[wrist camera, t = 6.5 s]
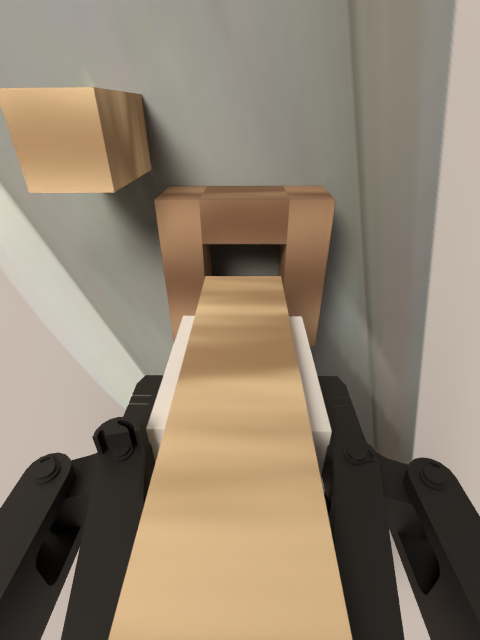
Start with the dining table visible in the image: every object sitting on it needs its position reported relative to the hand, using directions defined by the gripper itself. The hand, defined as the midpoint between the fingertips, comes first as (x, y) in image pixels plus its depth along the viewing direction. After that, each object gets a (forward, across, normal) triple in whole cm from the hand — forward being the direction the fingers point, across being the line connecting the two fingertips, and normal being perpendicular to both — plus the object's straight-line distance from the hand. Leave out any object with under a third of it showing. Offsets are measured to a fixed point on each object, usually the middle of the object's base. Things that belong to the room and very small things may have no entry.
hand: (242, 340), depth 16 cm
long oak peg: (+3, 0, 0) cm, 3 cm away
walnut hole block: (+10, 0, 0) cm, 10 cm away
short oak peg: (+10, -8, +8) cm, 15 cm away
